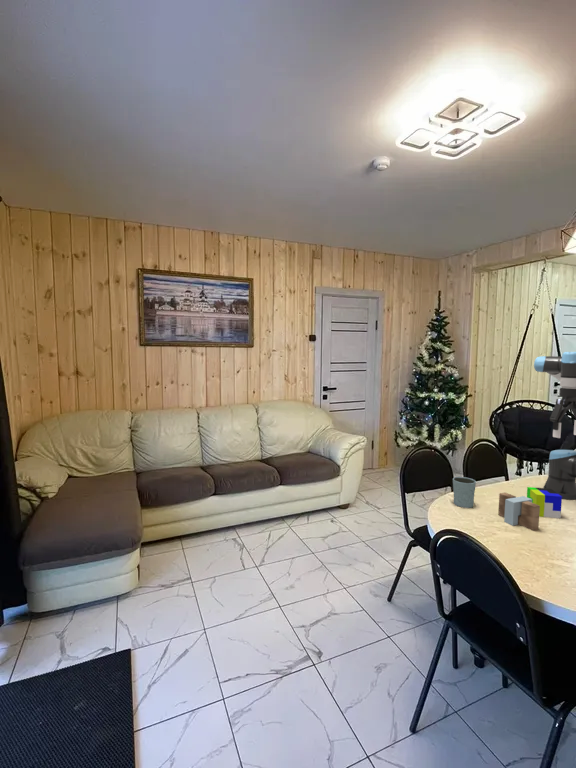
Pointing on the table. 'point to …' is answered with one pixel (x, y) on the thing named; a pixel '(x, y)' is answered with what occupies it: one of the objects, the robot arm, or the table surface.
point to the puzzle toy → (546, 501)
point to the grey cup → (464, 491)
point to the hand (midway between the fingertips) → (567, 436)
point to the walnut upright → (522, 512)
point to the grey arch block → (514, 509)
